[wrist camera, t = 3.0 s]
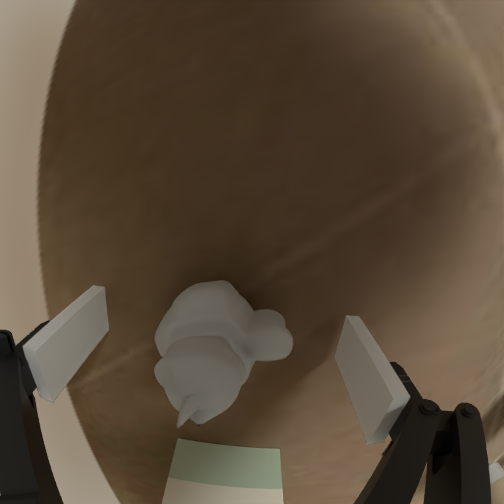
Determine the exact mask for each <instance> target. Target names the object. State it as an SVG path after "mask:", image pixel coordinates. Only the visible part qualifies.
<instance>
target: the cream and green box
mask: <svg viewBox="0 0 504 504" xmlns="http://www.w3.org/2000/svg"><path fill="white" fill-rule="evenodd" d="M162 504H283V491H282V475H281V461H280V449H271V448H252V447H239V446H229V445H220V444H212V443H204V442H198V441H191V440H185V439H180V438H178V440H177V443H176V447H175V451H174V455H173V459H172V463H171V467H170V471H169V475H168V479H167V484H166V488H165V492H164V496H163V500H162Z"/></svg>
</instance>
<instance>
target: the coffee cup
mask: <svg viewBox="0 0 504 504" xmlns="http://www.w3.org/2000/svg"><path fill="white" fill-rule="evenodd" d="M489 474H490V485H491V504H504V470H503V469H502V467H501V466H500V465H499V463H498V462H495V463H493V464H491V465H489Z"/></svg>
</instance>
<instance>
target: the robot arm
mask: <svg viewBox="0 0 504 504" xmlns="http://www.w3.org/2000/svg"><path fill="white" fill-rule="evenodd" d="M108 331H109V324H108V316H107V306H106V295H105V287H101V286H96V285H93V286H92V287H90V288H89V289H88V290H87V291H86V292H84V293H83V294H82V295H81V296H79V297H78V298H77V299H76V300H75V301H73V302H72V303H71V304H70V305H69V306H67V307H66V308H65V309H64V310H63V311H62V312H60V313H59V314H58V315H57V316H56V317H55V318H54V319H52V320H51V321H49V320H48V321H46V322H44V323H42V324H40V325H39V326H38V327H36V328H35V329H34V331H32V332H31V333H30V334H29V335H27V336H26V337H25V338H24V339H23V340H22V341H21V342H20V343H18V344H17V345H16V346H15V343H14V339H13V336H12V333H11V332H10V331H7V330H0V494H1V495H0V504H63V501H62V498H61V496H60V493H59V490H58V488H57V485H56V482H55V479H54V477H53V473H52V470H51V466H50V463H49V460H48V456H47V453H46V449H45V445H44V441H43V437H42V433H41V429H40V423H39V418H38V413H37V408H36V402H35V397H34V395H33V391H34V390H35V389H36V388H37V390H38V392H39V395H40V397H42V398H44V399H46V400H48V401H51V402H54V401H55V400H56V398H57V397H58V396H59V394H60V393H61V391H62V390H63V389H64V388H65V386H66V385H67V384H68V382H69V381H70V379H71V378H72V377H73V375H74V374H75V373H76V372H77V370H78V369H79V368H80V366H81V365H82V364H83V362H84V361H85V360H86V359H87V357H88V356H89V355H90V353H91V352H92V351H93V350H94V348H95V347H96V346H97V345H98V343H99V342H100V341H101V339H102V338H103V337H104V336H105V335H106V333H107V332H108ZM334 358H335V361H336V363H337V366H338V368H339V371H340V373H341V376H342V378H343V381H344V383H345V386H346V389H347V391H348V394H349V396H350V399H351V402H352V404H353V407H354V410H355V412H356V415H357V418H358V420H359V423H360V426H361V428H362V431H363V434H364V437H365V439H366V442H367V445H369V444H376V443H383V442H384V440H385V439H386V437H387V436H388V434H389V435H390V437H391V439H392V441H391V442H390V444H389V445H388V447H387V448H386V449H385V451H384V452H383V454H382V455H383V457H382V458H381V460H380V462H379V464H378V466H377V467H376V469H375V471H374V472H373V474H372V476H371V478H370V479H369V481H368V482H367V484H366V486H365V487H364V489H363V490H362V492H361V494H360V495H359V497H358V498H357V500H356V501H355V503H354V504H410V502H411V500H412V498H413V495H414V493H415V491H416V488H417V486H418V484H419V481H420V479H421V476H422V473H423V471H424V468H425V465H426V463H427V474H426V486H425V495H424V504H491V485H490V474H489V464H488V457H487V450H486V443H485V437H484V432H483V426H482V421H481V417H480V413H479V411H478V409H477V408H476V407H475V406H474V405H472V404H469V403H460V404H458V405H457V407H456V408H455V410H454V411H442V410H441V409H440V407H439V406H438V405H437V404H436V403H435V402H433V401H431V400H427V399H423V398H422V397H421V395H420V394H419V392H418V390H417V389H416V387H415V386H414V384H413V383H412V382H411V380H410V378H409V377H408V376H407V374H406V372H405V371H404V369H403V368H402V367H401V366H400V365H398V364H397V363H396V362H389V361H388V360H387V358H386V357H385V355H384V353H383V352H382V350H381V349H380V347H379V346H378V344H377V343H376V341H375V340H374V338H373V337H372V335H371V333H370V332H369V330H368V329H367V327H366V326H365V324H364V323H363V321H362V320H361V318H360V317H359V316H349V315H346V318H345V321H344V325H343V328H342V332H341V335H340V339H339V342H338V346H337V349H336V352H335V356H334Z"/></svg>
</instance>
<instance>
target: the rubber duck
mask: <svg viewBox="0 0 504 504" xmlns="http://www.w3.org/2000/svg"><path fill="white" fill-rule="evenodd" d="M285 325H286V323H285V320H284V318H283V316H282V315H281V314H280V313H278V312H276V311H274V310H271V309H261V310H257V311H254V310H253V309H252V308H251V306H250V305H249V303H248V302H247V301H246V300H245V299H244V298H243V297H242V296H240V295H239V293H238V292H237V291H236V289H235V288H234V287H233V286H232V285H231V284H230V283H229V282H227V281H223V280H218V281H211V282H203V283H197V284H194V285H192V286H190V287H189V288H187V289H186V290H184V291H183V292H182V293H181V294H180V295H179V296H178V297H177V298H176V299H175V300H174V302H173V304H172V306H171V307H170V308H169V310H168V311H167V313H166V314H165V315H164V317H163V319H162V320H161V322H160V324H159V326H158V328H157V330H156V333H155V343H156V346H157V349H158V351H159V353H160V355H161V356H162V357H163V358H162V359H161V360H160V361H159V362H158V363H157V364H156V366H155V369H154V372H155V377H156V379H157V381H158V382H159V383H160V384H161V386H162V387H164V388H165V392H166V395H167V397H168V399H169V401H170V403H171V404H172V405H173V407H174V408H175V409H176V410H178V411H179V415H178V420H177V429H178V428H179V427H181V426H182V425H183V424H184V423H185V422H186V421H187V419H188V418H190V419H191V420H192V421H194V422H195V423H196V424H198V426H199V425H202V424H204V423H205V422H207V421H208V420H210V419H212V418H214V417H215V416H217V415H219V414H220V413H222V412H224V411H225V410H226V409H228V408H229V407H230V406H231V405H232V404H233V402H234V401H235V400H236V398H237V396H238V394H239V391H240V389H241V385H242V384H244V383H245V382H246V380H247V379H248V377H249V374H250V371H251V368H252V367H253V365H254V363H255V361H256V360H258V361H273V360H280V359H284V358H285V357H287V356H288V355H289V354H290V352H291V351H292V347H293V337H292V335H291V333H290V332H289V330H288V329H287V328H286V327H285Z"/></svg>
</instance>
